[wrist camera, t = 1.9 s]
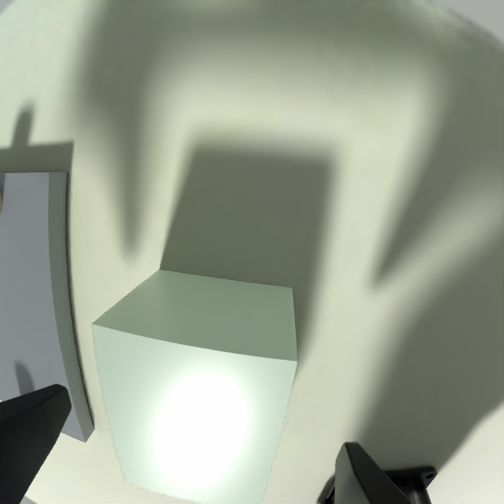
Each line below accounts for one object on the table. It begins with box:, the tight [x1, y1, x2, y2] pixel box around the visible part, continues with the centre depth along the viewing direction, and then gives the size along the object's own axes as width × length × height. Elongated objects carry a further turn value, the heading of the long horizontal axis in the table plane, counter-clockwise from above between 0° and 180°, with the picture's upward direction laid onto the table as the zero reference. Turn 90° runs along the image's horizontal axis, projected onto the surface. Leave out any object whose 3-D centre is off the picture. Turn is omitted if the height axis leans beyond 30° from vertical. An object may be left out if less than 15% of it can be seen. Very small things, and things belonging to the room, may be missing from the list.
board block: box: [92, 269, 298, 504], centre depth 10 cm, size 5×7×5 cm
